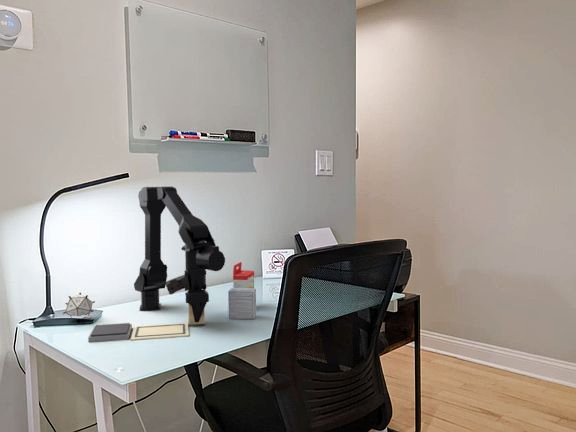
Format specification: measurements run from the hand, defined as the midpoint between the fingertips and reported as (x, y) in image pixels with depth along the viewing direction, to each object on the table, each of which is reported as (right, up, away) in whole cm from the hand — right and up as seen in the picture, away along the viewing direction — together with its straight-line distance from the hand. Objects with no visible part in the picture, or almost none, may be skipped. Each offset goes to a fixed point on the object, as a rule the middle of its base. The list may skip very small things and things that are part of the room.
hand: (196, 319), depth 143 cm
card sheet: (-9, -2, -7) cm, 11 cm away
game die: (-36, -1, +4) cm, 36 cm away
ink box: (+12, 0, +18) cm, 22 cm away
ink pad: (-21, -2, -10) cm, 24 cm away
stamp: (0, -1, 0) cm, 1 cm away
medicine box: (+13, -1, +7) cm, 15 cm away
